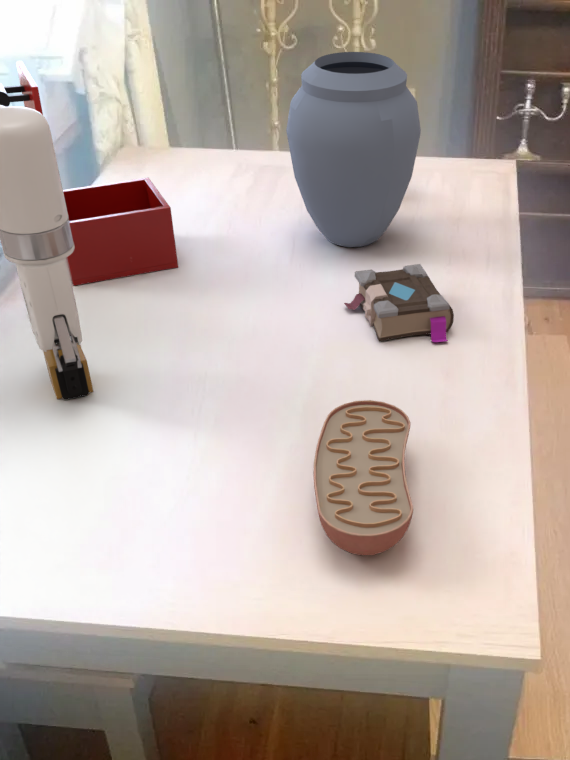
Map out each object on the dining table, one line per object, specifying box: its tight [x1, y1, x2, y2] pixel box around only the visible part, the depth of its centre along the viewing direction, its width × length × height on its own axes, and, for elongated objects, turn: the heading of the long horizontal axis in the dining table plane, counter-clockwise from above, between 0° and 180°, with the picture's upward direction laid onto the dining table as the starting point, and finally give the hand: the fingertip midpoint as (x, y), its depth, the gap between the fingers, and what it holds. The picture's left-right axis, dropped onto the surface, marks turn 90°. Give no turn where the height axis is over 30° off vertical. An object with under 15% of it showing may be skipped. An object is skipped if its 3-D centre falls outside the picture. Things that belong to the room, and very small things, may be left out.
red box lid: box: [0, 60, 44, 116], centre depth 120 cm, size 16×13×5 cm
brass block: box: [42, 344, 94, 400], centre depth 108 cm, size 4×4×4 cm
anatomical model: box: [312, 399, 414, 556], centre depth 92 cm, size 23×10×5 cm, turn 178°
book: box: [343, 263, 455, 343], centre depth 122 cm, size 20×12×5 cm, turn 14°
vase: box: [285, 51, 422, 248], centre depth 132 cm, size 20×20×24 cm
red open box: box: [63, 176, 179, 287], centre depth 132 cm, size 16×13×9 cm
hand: (71, 384), depth 110 cm, fingers closed on brass block, 4 cm apart
